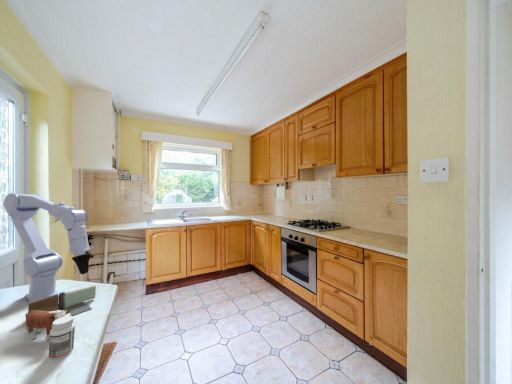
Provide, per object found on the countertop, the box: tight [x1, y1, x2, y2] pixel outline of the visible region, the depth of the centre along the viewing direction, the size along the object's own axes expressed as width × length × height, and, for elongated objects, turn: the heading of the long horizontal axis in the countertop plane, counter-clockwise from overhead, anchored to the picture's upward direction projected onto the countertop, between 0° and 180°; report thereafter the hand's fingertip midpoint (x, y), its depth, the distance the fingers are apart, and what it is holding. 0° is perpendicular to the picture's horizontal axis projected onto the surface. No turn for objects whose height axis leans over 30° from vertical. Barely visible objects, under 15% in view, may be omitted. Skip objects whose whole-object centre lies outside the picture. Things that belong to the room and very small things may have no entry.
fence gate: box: [64, 284, 97, 308], centre depth 77 cm, size 9×1×5 cm, turn 147°
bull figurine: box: [25, 310, 71, 342], centre depth 58 cm, size 4×13×8 cm, turn 78°
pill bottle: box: [48, 316, 76, 360], centre depth 53 cm, size 5×5×8 cm
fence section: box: [27, 291, 65, 314], centre depth 69 cm, size 1×9×6 cm, turn 147°
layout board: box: [25, 302, 92, 317], centre depth 71 cm, size 14×14×1 cm
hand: (84, 272), depth 81 cm, fingers open, 7 cm apart
